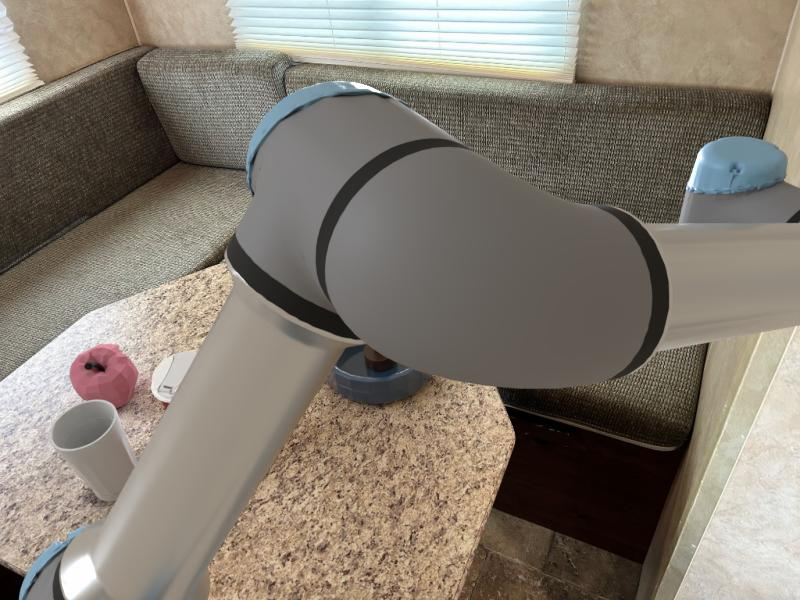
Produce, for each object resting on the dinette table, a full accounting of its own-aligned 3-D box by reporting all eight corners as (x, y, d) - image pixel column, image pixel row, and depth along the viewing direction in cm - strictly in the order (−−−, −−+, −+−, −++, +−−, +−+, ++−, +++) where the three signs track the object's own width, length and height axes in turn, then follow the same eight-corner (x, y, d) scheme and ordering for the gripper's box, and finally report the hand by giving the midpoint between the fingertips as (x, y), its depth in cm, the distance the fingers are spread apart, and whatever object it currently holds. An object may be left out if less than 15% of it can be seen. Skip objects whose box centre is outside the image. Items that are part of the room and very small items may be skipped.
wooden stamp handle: (365, 373, 93) (351, 290, 83) (365, 350, 97) (352, 268, 87) (397, 370, 93) (388, 287, 83) (396, 348, 97) (387, 265, 86)
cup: (122, 514, 78) (85, 458, 71) (75, 497, 81) (33, 441, 73) (161, 464, 84) (130, 407, 76) (115, 450, 86) (80, 393, 79)
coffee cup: (223, 474, 82) (190, 401, 72) (172, 461, 84) (133, 387, 75) (253, 426, 88) (226, 352, 78) (205, 415, 90) (173, 342, 81)
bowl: (322, 412, 89) (316, 386, 85) (328, 331, 102) (323, 306, 99) (441, 402, 89) (440, 376, 85) (432, 322, 102) (430, 297, 99)
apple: (156, 402, 93) (132, 356, 86) (99, 433, 89) (71, 387, 83) (134, 369, 99) (111, 323, 93) (80, 396, 95) (52, 351, 89)
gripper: (582, 366, 62) (393, 322, 69) (619, 236, 79) (464, 211, 87) (591, 311, 57) (387, 269, 65) (628, 185, 74) (464, 163, 82)
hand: (431, 236), depth 76 cm, fingers open, 13 cm apart
